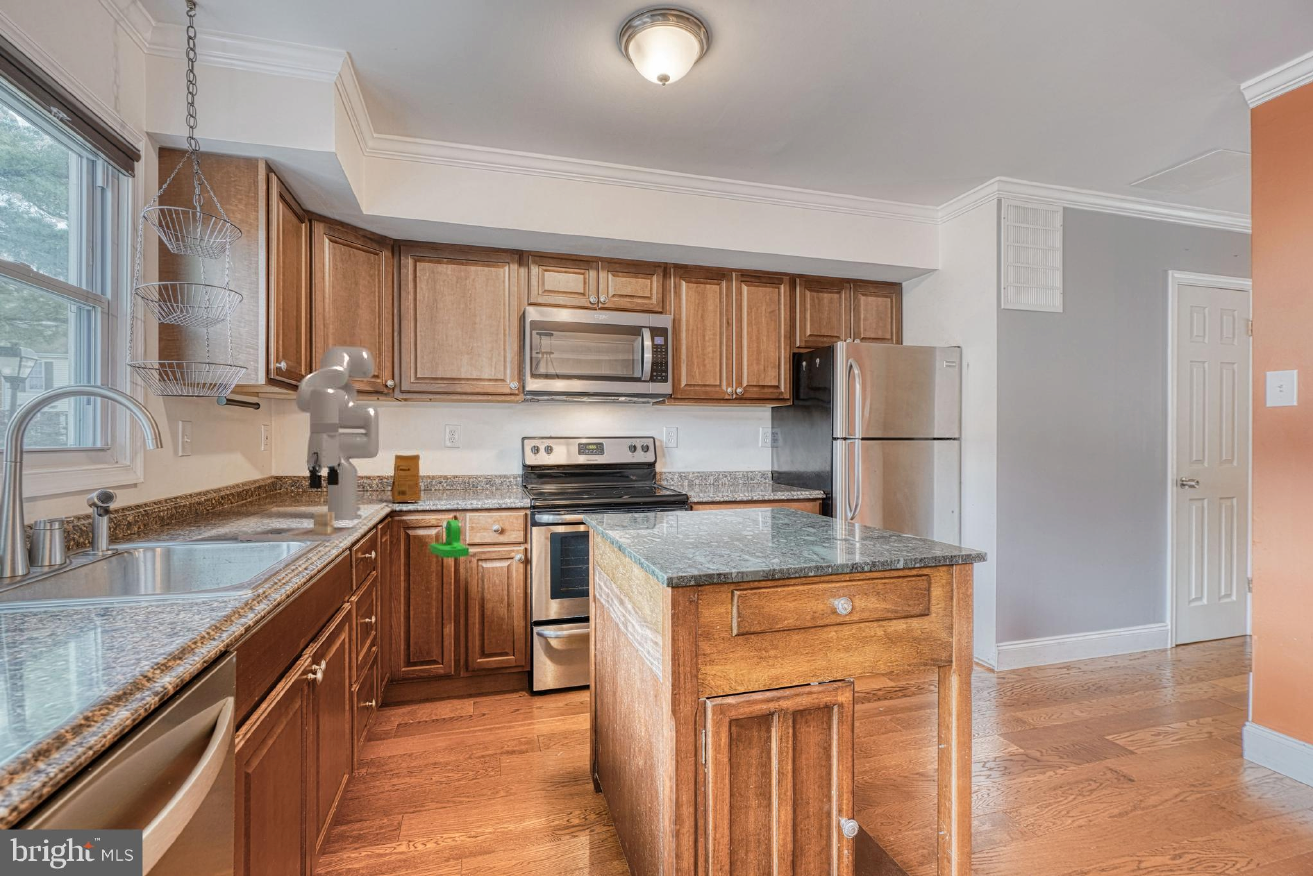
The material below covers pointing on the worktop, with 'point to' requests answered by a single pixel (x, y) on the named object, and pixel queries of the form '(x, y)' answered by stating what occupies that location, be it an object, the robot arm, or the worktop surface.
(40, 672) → the worktop surface
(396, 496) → the coffee package
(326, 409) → the robot arm
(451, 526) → the mechanical part
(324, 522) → the wooden cube
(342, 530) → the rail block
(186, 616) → the worktop surface
